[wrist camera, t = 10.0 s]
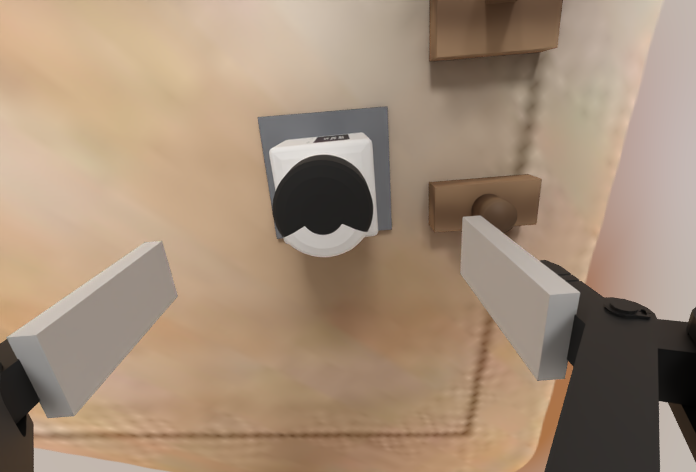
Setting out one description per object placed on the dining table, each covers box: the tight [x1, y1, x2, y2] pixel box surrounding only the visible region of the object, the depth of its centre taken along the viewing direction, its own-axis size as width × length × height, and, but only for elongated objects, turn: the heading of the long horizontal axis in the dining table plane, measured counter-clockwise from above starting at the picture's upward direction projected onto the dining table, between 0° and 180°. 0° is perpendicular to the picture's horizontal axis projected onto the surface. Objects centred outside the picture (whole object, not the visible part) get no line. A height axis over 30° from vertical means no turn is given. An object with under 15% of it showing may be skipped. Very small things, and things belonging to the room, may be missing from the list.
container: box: [269, 132, 378, 257], centre depth 28 cm, size 8×8×13 cm
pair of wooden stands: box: [429, 0, 563, 233], centre depth 28 cm, size 23×10×8 cm, turn 4°
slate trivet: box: [258, 107, 392, 239], centre depth 34 cm, size 12×12×1 cm
